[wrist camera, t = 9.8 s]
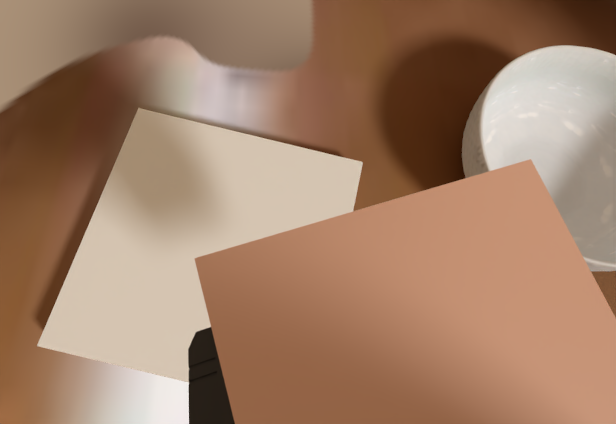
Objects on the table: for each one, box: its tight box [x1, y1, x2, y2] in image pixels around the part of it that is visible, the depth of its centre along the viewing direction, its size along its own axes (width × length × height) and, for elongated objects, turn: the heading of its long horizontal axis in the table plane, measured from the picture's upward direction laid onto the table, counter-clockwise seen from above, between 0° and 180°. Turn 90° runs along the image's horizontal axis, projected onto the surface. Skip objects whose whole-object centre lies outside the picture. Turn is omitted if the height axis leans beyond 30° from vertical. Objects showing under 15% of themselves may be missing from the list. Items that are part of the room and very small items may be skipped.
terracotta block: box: [194, 159, 616, 424], centre depth 10 cm, size 5×5×11 cm
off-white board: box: [37, 108, 363, 382], centre depth 29 cm, size 18×18×2 cm
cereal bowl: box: [462, 45, 616, 271], centre depth 30 cm, size 17×17×7 cm
